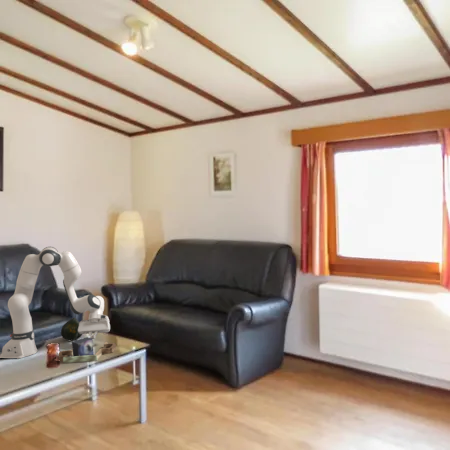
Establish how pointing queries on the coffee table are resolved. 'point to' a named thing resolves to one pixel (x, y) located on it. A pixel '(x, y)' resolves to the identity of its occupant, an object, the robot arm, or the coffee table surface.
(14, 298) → the robot arm
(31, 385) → the coffee table surface
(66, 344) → the coffee table surface
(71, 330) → the squash
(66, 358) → the trap lane
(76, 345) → the small box
